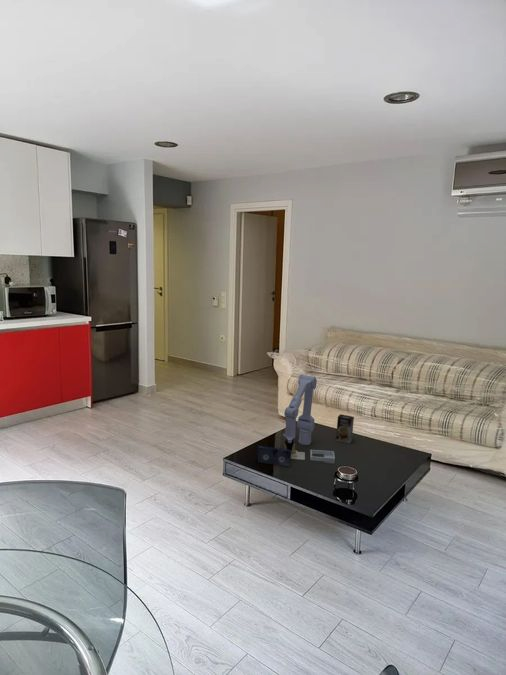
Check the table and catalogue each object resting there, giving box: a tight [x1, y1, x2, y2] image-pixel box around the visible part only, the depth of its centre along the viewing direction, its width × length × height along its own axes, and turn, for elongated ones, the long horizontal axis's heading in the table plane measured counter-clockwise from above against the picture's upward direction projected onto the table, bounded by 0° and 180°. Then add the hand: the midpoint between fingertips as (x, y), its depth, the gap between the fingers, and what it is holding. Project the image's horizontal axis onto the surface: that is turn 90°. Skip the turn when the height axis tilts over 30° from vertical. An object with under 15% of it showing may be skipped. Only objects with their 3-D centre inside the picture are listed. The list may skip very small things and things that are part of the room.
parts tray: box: [309, 449, 336, 465], centre depth 260 cm, size 10×14×3 cm
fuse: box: [283, 442, 296, 454], centre depth 262 cm, size 3×6×7 cm, turn 84°
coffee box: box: [335, 413, 355, 444], centre depth 287 cm, size 9×6×16 cm
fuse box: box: [291, 449, 306, 461], centre depth 262 cm, size 10×18×2 cm, turn 84°
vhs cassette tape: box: [257, 445, 292, 468], centre depth 250 cm, size 18×3×10 cm, turn 74°
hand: (289, 450), depth 262 cm, fingers open, 7 cm apart
